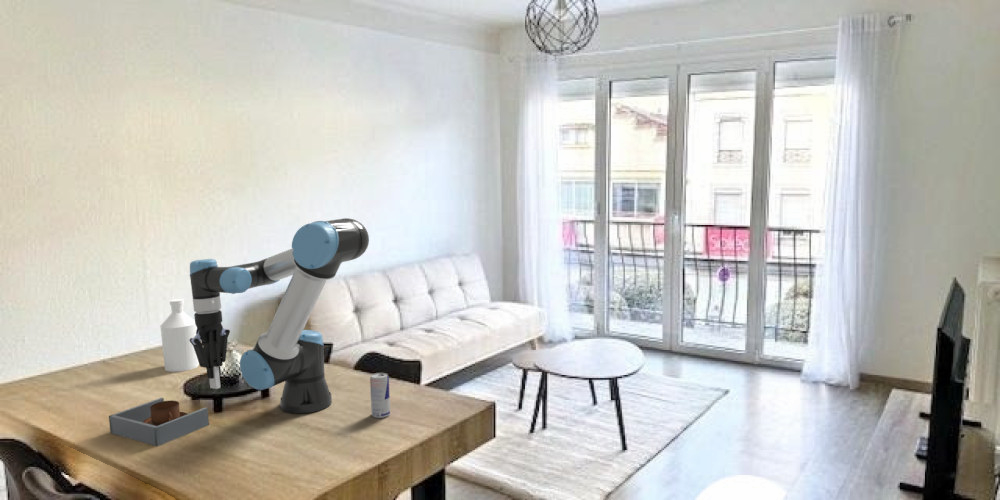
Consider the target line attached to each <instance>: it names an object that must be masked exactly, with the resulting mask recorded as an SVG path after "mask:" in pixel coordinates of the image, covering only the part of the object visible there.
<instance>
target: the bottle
mask: <svg viewBox="0 0 1000 500" xmlns="http://www.w3.org/2000/svg"><path fill="white" fill-rule="evenodd" d="M184 304H185V299H183V298H177V299H175V298H174V299H170V300H169V305H170V307H171V313H170V315H169V316H168V317H167V318H166V319H165V320H164V321H163V322H162V323H161V325H160V334H161V344H162V355H163V363H164V364H163V365H164V370H165V371H166V372H171V373H172V372H173V373H177V372H185V371H190V370H194V369H196V368H198V367H200V365H199V362H198V359H197V356H196V353H195V350H194V347H193V345H192V344H191V342H190V338H194V337H195V336H196V331H197V326H196V325H195V319H194V318H192V317H191V316H189V315H188V314H187V313H186V312H185V311H184Z"/></svg>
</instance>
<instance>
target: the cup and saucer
mask: <svg viewBox="0 0 1000 500" xmlns="http://www.w3.org/2000/svg"><path fill="white" fill-rule="evenodd" d="M180 410H181V409H180V402H179V401H177V400H164V401H163V402H159V403H156V404H153V405H152V406H151V407H150V411H151V417H149V418H147V419H145V420H144V421H143V423H147V424H151V425H155V426H159V425H161V424H164V423H166V422H169V421H172V420H174V419H177V418H179V417H182V416H184V415H187V414H188V413H187V412H186V411H185V412H184V411H180Z"/></svg>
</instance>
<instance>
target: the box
mask: <svg viewBox="0 0 1000 500" xmlns="http://www.w3.org/2000/svg"><path fill="white" fill-rule="evenodd" d="M163 401H165V400H164V397H159V398H156V399H154V400H150V401H147V402H145V403H142V404H138V405H136V406H133V407H130V408H128V409H125V410H121V411H118V412H116V413H114V414H110V415H108V421H109V429H110V430H109V433H110V434H112V435H116V436H119V437H123V438H127V439H130V440H134V441H138V442H141V443H144V444H148V445H150V446H151V445H152V446H155V447H159V446H161V445H164V444H167V443H169V442H171V441H174V440H177V439H178V438H181V437H183V436H185V435H189V434H190V433H193V432H196V431H198V430H200V429H203V428H205V427H207V426H209V425H210V423H209V421H210V420H209V408H208V407H202V408H200V409H197V410H195V411H193V412H189V413H187V415H184V416H182V417H179V418H177V419H174V420H172V421H169V422H166V423H164V424H161V425H159V426H155V425H151V424H147V423H143V421H144V420H145V419H147V418H149V417H151V411H150V407H151V406H152V405H153V404H156V403H159V402H163Z"/></svg>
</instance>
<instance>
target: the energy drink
mask: <svg viewBox="0 0 1000 500" xmlns="http://www.w3.org/2000/svg"><path fill="white" fill-rule="evenodd" d="M369 383H370V407H371V409H370V410H371V416H372V417H373V418H375V419H384V418H388V417H389V416H390V415H391V401H390V399H391V398H390V397H391V396H390V377H389V374H388V373H385V372H376V373H372V374H371V375H370V377H369Z"/></svg>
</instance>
